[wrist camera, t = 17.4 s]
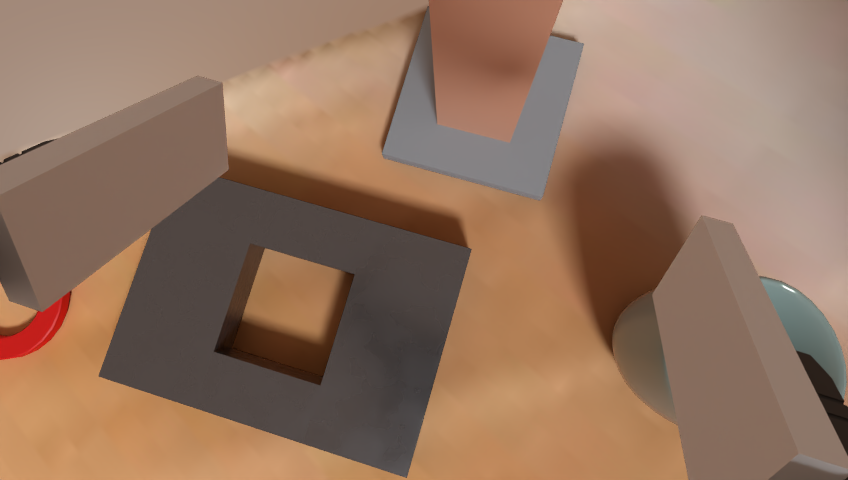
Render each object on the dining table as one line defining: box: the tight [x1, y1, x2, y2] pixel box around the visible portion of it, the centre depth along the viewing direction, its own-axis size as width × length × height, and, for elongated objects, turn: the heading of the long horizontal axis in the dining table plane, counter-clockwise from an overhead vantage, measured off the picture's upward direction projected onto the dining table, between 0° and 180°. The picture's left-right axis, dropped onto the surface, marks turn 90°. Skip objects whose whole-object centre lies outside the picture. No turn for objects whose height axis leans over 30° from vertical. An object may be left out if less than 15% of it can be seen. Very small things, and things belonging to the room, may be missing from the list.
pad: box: [382, 6, 584, 200], centre depth 33 cm, size 11×11×1 cm
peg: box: [429, 0, 563, 143], centre depth 25 cm, size 5×5×16 cm
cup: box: [612, 276, 847, 426], centre depth 26 cm, size 8×8×10 cm
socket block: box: [99, 177, 471, 478], centre depth 31 cm, size 20×14×2 cm
